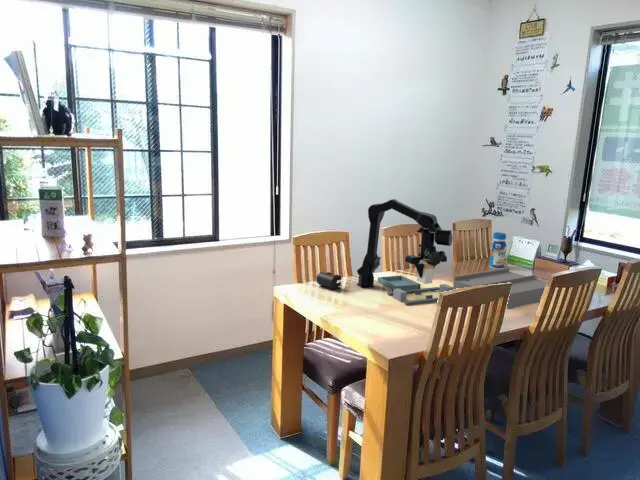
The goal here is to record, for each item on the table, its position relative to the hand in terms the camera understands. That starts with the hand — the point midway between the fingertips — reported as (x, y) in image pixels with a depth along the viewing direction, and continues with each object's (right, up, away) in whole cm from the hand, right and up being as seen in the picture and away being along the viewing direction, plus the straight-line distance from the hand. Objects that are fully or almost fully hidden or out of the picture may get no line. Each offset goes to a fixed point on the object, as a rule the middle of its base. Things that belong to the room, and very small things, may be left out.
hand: (424, 277), depth 224 cm
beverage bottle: (+54, +1, +62) cm, 82 cm away
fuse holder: (0, -9, +2) cm, 9 cm away
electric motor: (-43, -6, +11) cm, 45 cm away
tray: (-9, -5, +18) cm, 21 cm away
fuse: (0, -2, 0) cm, 2 cm away
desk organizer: (+42, -9, +13) cm, 45 cm away
